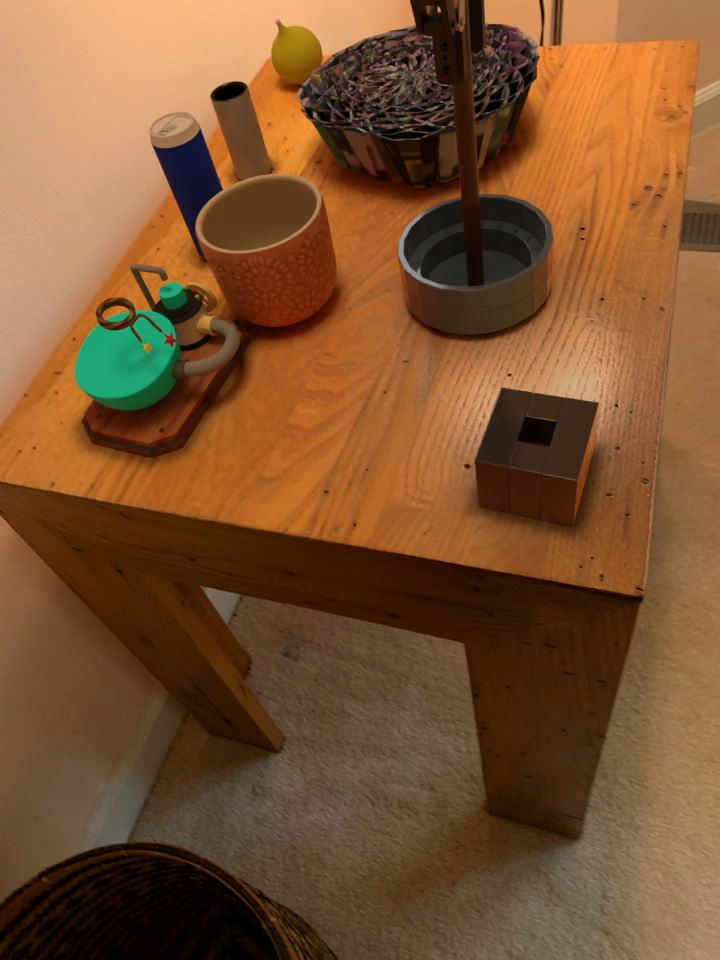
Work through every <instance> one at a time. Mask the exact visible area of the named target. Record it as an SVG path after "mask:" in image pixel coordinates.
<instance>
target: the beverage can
mask: <svg viewBox="0 0 720 960" xmlns="http://www.w3.org/2000/svg"><path fill="white" fill-rule="evenodd" d="M149 139H150V140H149V141H150V143H151V146H152V148H153V151H154V153H155V155H156V158H157V161H158V163H159V164H160V167H161V170H162V171H163V174H164V176H165V179H166V182H167V184H168V186H169V188H170V190H171V193H172V195H173V198H174V200H175V202H176V205H177V208H178V210H179V212H180V214H181V216H182V219H183V221H184V224H185V226H186V229H187V230H188V233H189V235H190V238H191V240H192V243H193V245H194V247H195V250H196V252H197V253H198V256H199V257H201V258H202V259H204V260H206V258H205V256H204V254H203V251H202V249H201V247H200V244H199V242H198V239H197V235H196V230H195V225H196V220H197V217H198V215H199V213H200V211H201V210H202V208H203V207H204V206H205V205H206V203H207V202H208V201H209V200H210V199H212V198H213V197H214V196H215V195H217V194H218V193H219V192H221V191H222V190H224V188H223V187H222V183H221V180H220V178H219V174H218V172H217V170H216V167H215V163H214V161H213V158H212V156H211V153H210V149H209V146H208V144H207V142H206V138H205V136H204V133H203V131H202V128H201V126H200V123H199V122H198V120H197V119H196V118H195V117H194V115H192V114H191V113H189V112H186V111H177V112H171V113H168V114H165V115H163V116H161V117H159V118H157V119H156V120H154V121H153V123H152V124H151V125H150V127H149Z"/></svg>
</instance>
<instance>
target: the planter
mask: <svg viewBox="0 0 720 960" xmlns="http://www.w3.org/2000/svg"><path fill="white" fill-rule="evenodd" d="M195 230H196V235H197V239H198V242H199V244H200V247H201V249H202V251H203V254H204V256H205V258H206V259H205V260H206V262H207V264H208V267H209V269H210V271H211V273H212V275H213V277H214V279H215V281H216V283H217V285H218V287H219V290H220V292H221V294H222V296H223V298H224V299H225V301H226V302H227V304H228V305H229V307H230V309H232V311H233V312H234V313H235V314H237V315H238V316H239V318H242V319H243V320H245V321H247V322H249V323H251V324H254V325H256V326H261V327H267V328H268V327H269V328H281V327H287V326H291V325H296V324H299V323H300V322H303V321H305V320H307V319H309V318H311V317H312V316H313V315H315V314H316V313H317V312H318V311H319V310H320V309H322V308H323V306H324V305H326V304H327V301H329V299H330V297H331V295H332V293H333V291H334V288H335V286H336V282H337V276H338V274H337V273H338V268H337V267H338V266H337V258H336V253H335V248H334V243H333V239H332V234H331V228H330V223H329V218H328V213H327V208H326V204H325V201H324V197H323V195H322V193H321V191H320V189H319V187H318V186H317V185H316V184H315V183H314V182H313V181H311V180H310V179H308V178H305V177H303V176H300V175H296V174H291V173H269V174H267V175H261V176H256V177H252V178H249V179H246V180H243V181H241V180H240V181H237V182H236V183H234V184H231V185H230V186H227V187H226V188H223V190H222V191H221V192H219V193H218V194H217V195H215V196H214V197H213V198H212V199H210V200H209V201H208V202H207V203H206V205H205V206H204V207H203V208H202V210H201V211H200V213H199V215H198V217H197V220H196V225H195Z"/></svg>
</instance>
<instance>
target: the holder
mask: <svg viewBox="0 0 720 960" xmlns="http://www.w3.org/2000/svg"><path fill="white" fill-rule="evenodd" d="M599 405H600V403H599V402H598V401H592V400H585V399H579V398H572V397H564V396H558V395H553V394H546V393H539V392H532V391H527V390H520V389H514V388H509V387H500V389H499V393H498V396H497V398H496V401H495V404H494V406H493V409H492V412H491V413H490V417H489V420H488V422H487V426H486V427H485V431H484V434H483V436H482V440H481V441H480V444H479V447H478V450H477V452H476V455H475V458H474V468H475V470H474V471H475V478H476V479H475V480H476V481H475V482H476V491H477V501H478V506H479V507H481V508H486V509H490V510H495V511H500V512H505V513H510V514H513V515H519V516H522V517H528V518H532V519H537V520H541V521H546V522H550V523H556V524H560V525H563V526H569V527H574V525H575V522H576V517H577V514H578V510H579V508H580V507H579V506H580V503H581V499H582V495H583V492H584V488H585V485H586V480H587V477H588V473H589V469H590V465H591V461H592V458H593V454H594V448H595V439H596V431H597V422H598V414H599Z"/></svg>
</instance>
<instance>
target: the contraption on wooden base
mask: <svg viewBox="0 0 720 960" xmlns="http://www.w3.org/2000/svg"><path fill="white" fill-rule="evenodd" d="M129 268H130V272H131V274H132V275H133V277H134V279H135V282H136V284H137V285H138V287H139V289H140V291H141V292H142V295H143V296H144V298H145V300H146V302H147V304H148V306H149V307H150V310H149V309H148V310H147V309H144V310H143V309H137V310H136V308H135V304H134V303H133V302H132V301H131V300H130V299H128V298H125V297H121V296H116V297H114V296H113V297H109V298H107V299H105V300H103V301H101V302H100V303H99V304H98V306H97V307H96V309H95V318H96V320H97V323H98V324H97V325H95V326H94V327H93V328H92V330H91V331H90V332H89V333H88V335H87V336H86V337H85V339H84V340H83V342H82V344H81V346H80V349H79V351H78V353H77V356H76V359H75V362H74V370H73V374H74V381H75V383H76V385H77V386H78V387H79V388H80V389H81V391H82V392H83V393H84V394H86V395H87V396H88V397H89V398H91V399H92V402H91V403H90V404H89V405H88V407H87V408H86V410H84V412H83V414H84V416H83V417H82V418H81V420H80V421H81V424H82V426H83V428H84V430H85V432H86V434H87V436H88V438H89V441H91V443H92V444H95V445H99V446H102V447H107V448H111V449H114V450H115V449H116V450H119V451H123V452H127V453H132V454H135V455H140V456H143V457H147V458H155V457H158V456H161V455H165V454H168V453H170V452H173V451H176V450H179V449H182V448H183V447H184V446H185V444H186V443H187V441H188V440H189V438H190V437H191V435H192V433H193V432H194V431H195V429H196V428H197V426H198V424H199V423H200V421H201V420H202V419H203V417H204V415H205V413H206V412H207V410H208V409H209V408H210V406H211V404H212V403H213V401H214V399H215V398H216V396H217V394H218V393H219V392H220V390H221V388H222V387H223V385H224V384H225V382H226V381H227V379H228V378H229V376H230V374H231V373H232V371H233V370H234V368H235V366H236V365H237V363H238V362H239V360H240V359H241V357H242V356H243V354H244V353H245V351H246V349H247V348H248V347H249V345H250V343H251V342H252V338H251V335H250V334H249V332H248V331H247V330H246V328H245V327H244V325H242V324H241V322H240V320H239V319H232V318H228V317H227V318H226V317H221V316H217V315H210V314H209V313H212V312H214V311H215V309H216V308H217V307H218V300H217V298H216V296H215V294H214V293H213V292H212V290H211V289H209V288H208V287H207V286H205V285H203V284H202V283H199V282H196V281H190V282H188V283H187V284H186V285H185V286H184V287H183V284H181V283H179V282H175V281H172V282H168V283H166V284H163V286H161V287H160V288H159V289H158V291H157V292H158V293H157V294H158V296H159V298H160V299H159V300H158V301H157V302H155V300H154V297H153V296H152V294H151V292H150V290H149V288H148V286H147V284H146V283H145V281H144V278H143V277H142V274H141V273H142V272H143V273H148V274H149V273H151V274H157V275H159V277H160V280H161V281H163V282H167V280H169V277H168V274H167V272H166V270H165V268H162V267H161V266H155V265H150V264H149V265H148V264H140V263H132V264H131V265H130V267H129ZM140 272H141V273H140ZM112 307H123V308H125V309H127V310H128V311H125V312H121V313H118V314H117V313H116V314H114V315H111V316H109V317H107V318H106V319H105V318H104V317H103V315H104V313H105V312H106V311H107V310H108V309H110V308H112Z"/></svg>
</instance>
